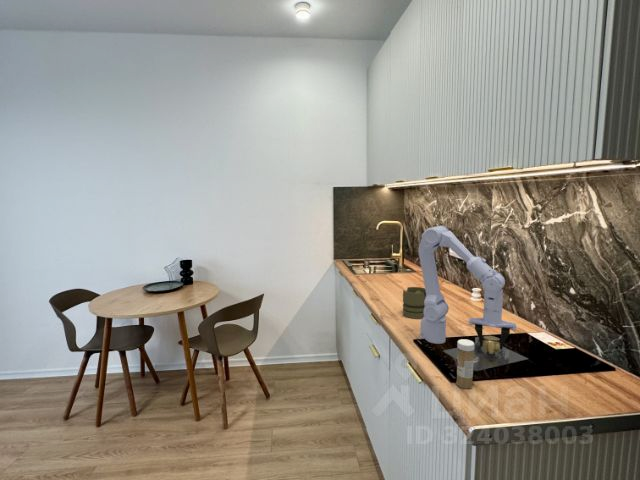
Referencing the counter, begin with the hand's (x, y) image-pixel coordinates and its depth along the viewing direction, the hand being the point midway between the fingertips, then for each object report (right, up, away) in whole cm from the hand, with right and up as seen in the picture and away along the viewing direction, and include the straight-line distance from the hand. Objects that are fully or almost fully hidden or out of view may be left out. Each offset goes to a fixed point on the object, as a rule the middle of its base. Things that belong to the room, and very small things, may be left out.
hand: (491, 346), depth 126 cm
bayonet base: (-3, -3, -1) cm, 4 cm away
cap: (0, -1, 0) cm, 1 cm away
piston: (-15, +2, +44) cm, 46 cm away
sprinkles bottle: (-16, -6, -18) cm, 25 cm away
